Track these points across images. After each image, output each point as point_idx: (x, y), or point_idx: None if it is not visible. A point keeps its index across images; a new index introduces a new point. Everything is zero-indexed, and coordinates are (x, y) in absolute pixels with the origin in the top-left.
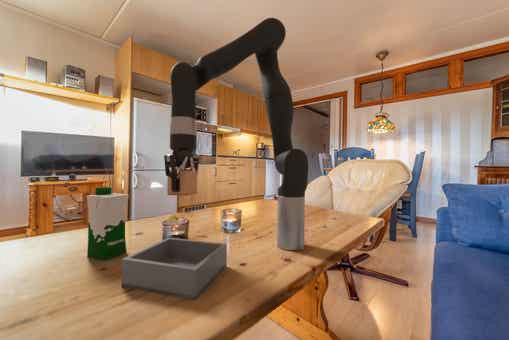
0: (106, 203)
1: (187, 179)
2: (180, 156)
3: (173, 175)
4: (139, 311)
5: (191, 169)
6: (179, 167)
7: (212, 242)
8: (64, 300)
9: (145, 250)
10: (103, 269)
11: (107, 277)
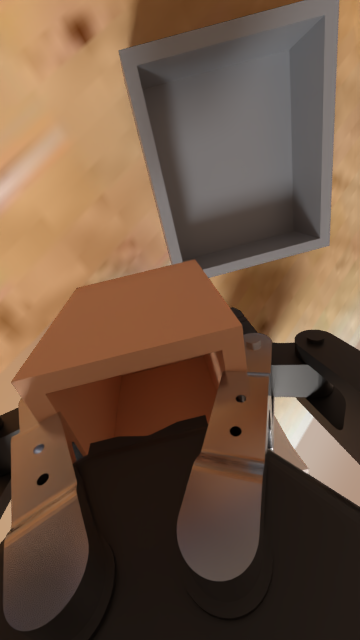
0: (293, 451)
1: (192, 298)
2: (338, 564)
3: (321, 332)
4: (348, 125)
5: (63, 427)
6: (269, 404)
7: (138, 121)
8: (349, 270)
9: (273, 250)
10: (264, 325)
11: (282, 290)
